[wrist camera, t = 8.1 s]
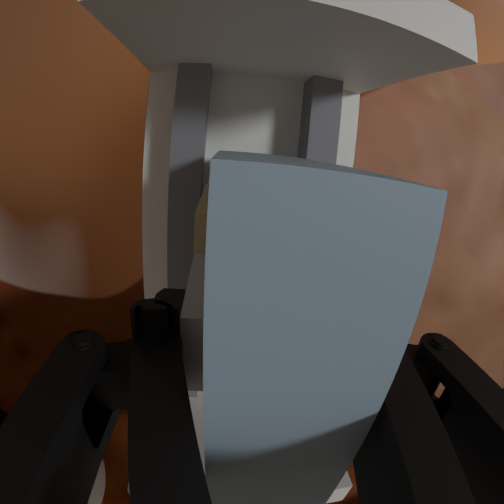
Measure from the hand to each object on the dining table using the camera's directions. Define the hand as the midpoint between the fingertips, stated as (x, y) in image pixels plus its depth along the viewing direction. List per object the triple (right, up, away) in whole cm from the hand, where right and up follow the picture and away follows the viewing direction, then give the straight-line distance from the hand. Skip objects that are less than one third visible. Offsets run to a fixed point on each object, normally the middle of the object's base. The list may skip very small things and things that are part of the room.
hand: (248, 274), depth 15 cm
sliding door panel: (0, +1, +2) cm, 2 cm away
